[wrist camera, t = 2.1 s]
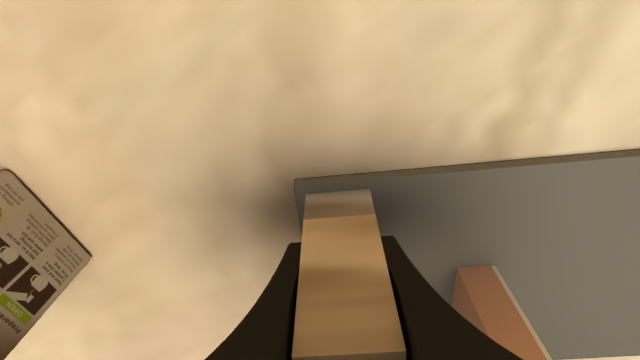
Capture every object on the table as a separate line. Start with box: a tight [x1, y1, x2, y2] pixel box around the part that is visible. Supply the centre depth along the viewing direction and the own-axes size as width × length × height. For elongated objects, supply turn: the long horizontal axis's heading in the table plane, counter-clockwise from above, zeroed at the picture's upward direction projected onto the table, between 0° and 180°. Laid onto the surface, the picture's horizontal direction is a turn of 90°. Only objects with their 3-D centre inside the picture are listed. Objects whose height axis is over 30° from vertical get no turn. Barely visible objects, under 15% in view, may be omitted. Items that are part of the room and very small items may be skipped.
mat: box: [294, 149, 640, 360], centre depth 19 cm, size 15×21×1 cm
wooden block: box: [292, 189, 406, 360], centre depth 13 cm, size 3×3×8 cm
